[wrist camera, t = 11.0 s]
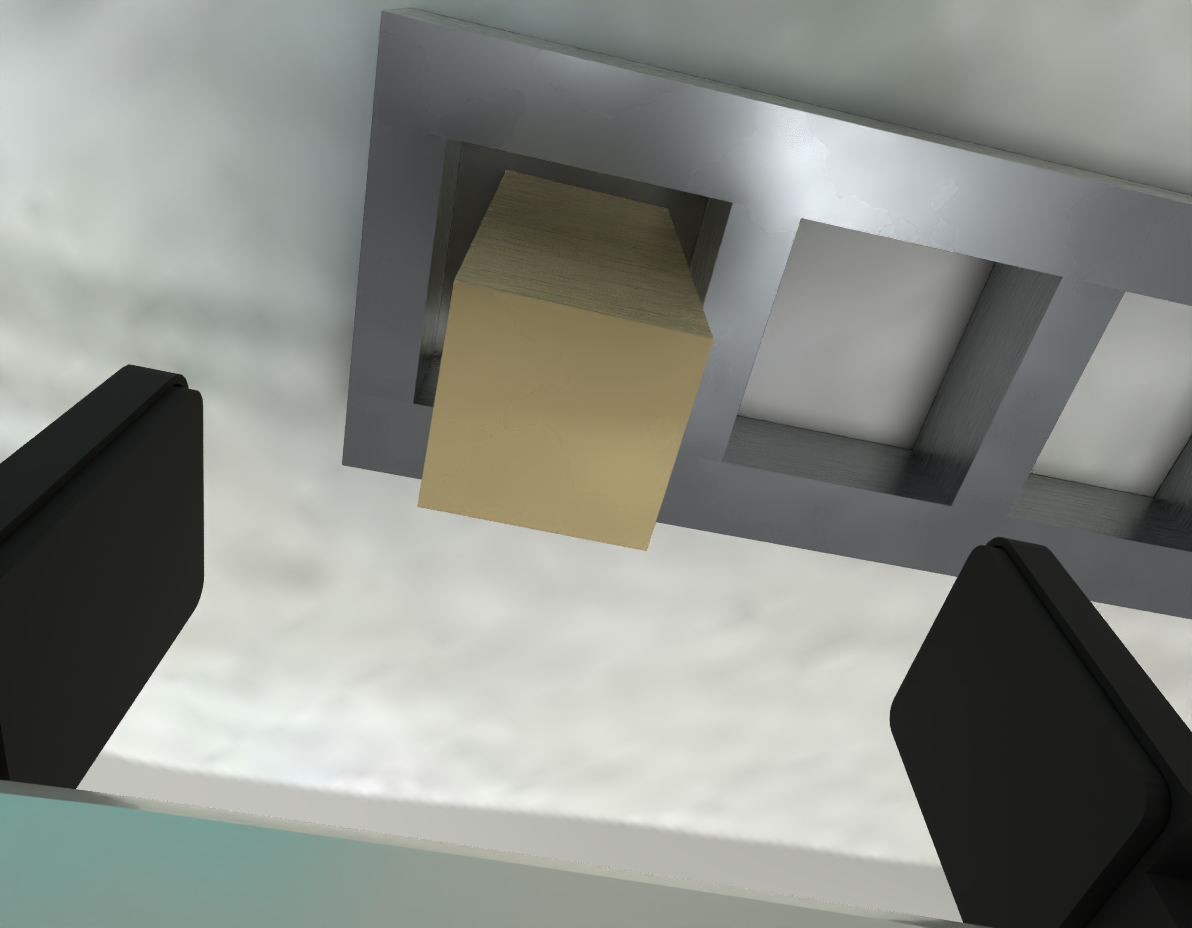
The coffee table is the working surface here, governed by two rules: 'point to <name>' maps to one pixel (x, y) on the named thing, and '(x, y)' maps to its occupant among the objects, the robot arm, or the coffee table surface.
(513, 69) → the grey flat slotted block
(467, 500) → the brass peg
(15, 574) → the robot arm
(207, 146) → the coffee table surface
